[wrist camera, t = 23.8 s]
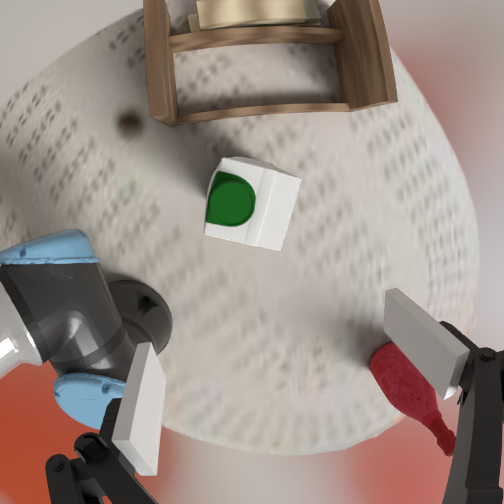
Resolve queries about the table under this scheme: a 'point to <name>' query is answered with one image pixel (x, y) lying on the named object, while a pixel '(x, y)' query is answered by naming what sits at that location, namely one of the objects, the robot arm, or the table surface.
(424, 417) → the wine bottle
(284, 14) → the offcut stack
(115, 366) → the robot arm
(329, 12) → the walnut rack
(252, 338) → the table surface
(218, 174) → the soya milk
